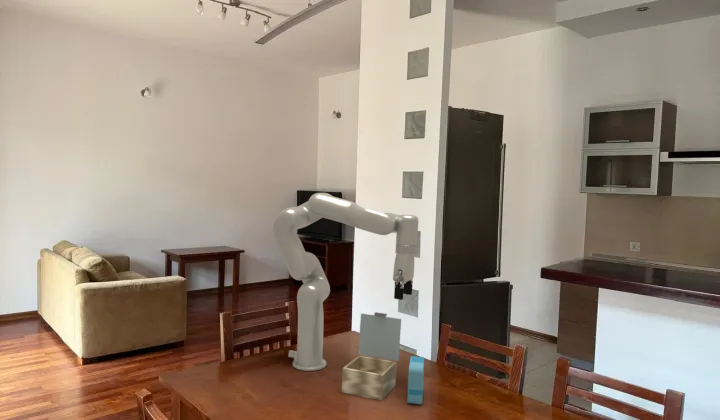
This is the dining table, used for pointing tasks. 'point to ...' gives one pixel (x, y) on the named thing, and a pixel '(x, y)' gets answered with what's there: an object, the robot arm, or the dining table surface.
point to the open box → (369, 377)
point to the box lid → (379, 336)
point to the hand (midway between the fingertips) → (403, 296)
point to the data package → (415, 380)
